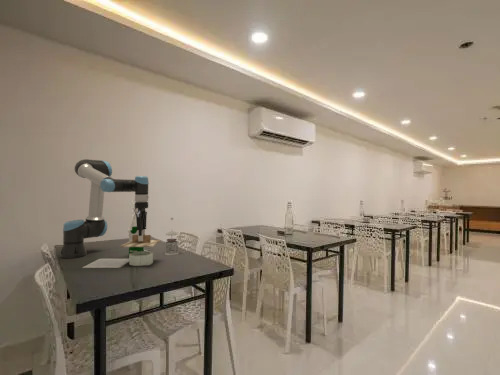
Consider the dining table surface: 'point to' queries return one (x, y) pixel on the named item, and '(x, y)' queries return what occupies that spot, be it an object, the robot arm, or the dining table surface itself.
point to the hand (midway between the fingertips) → (141, 240)
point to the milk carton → (131, 233)
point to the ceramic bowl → (141, 258)
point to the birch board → (129, 244)
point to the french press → (172, 244)
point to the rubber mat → (107, 263)
